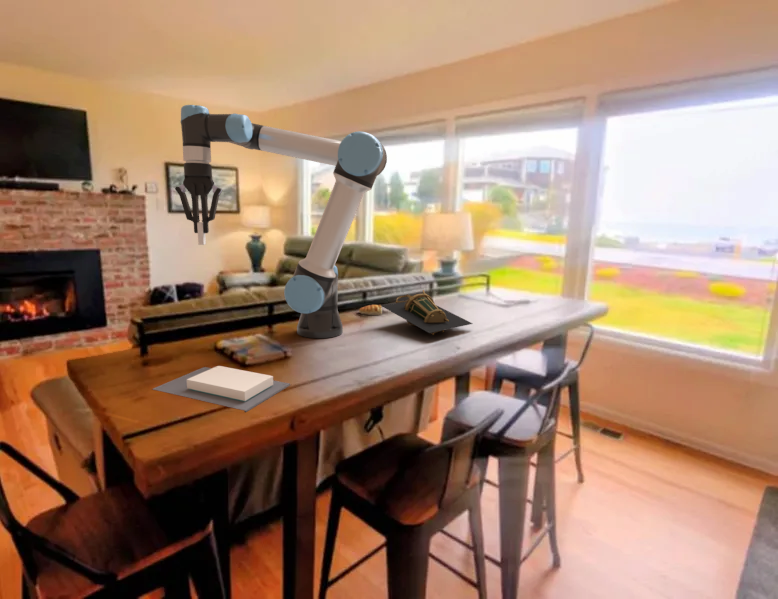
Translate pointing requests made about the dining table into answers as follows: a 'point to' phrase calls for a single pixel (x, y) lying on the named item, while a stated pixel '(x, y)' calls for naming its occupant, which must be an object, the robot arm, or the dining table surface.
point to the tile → (230, 383)
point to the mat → (181, 389)
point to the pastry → (371, 310)
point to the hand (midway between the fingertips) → (202, 244)
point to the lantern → (425, 313)
